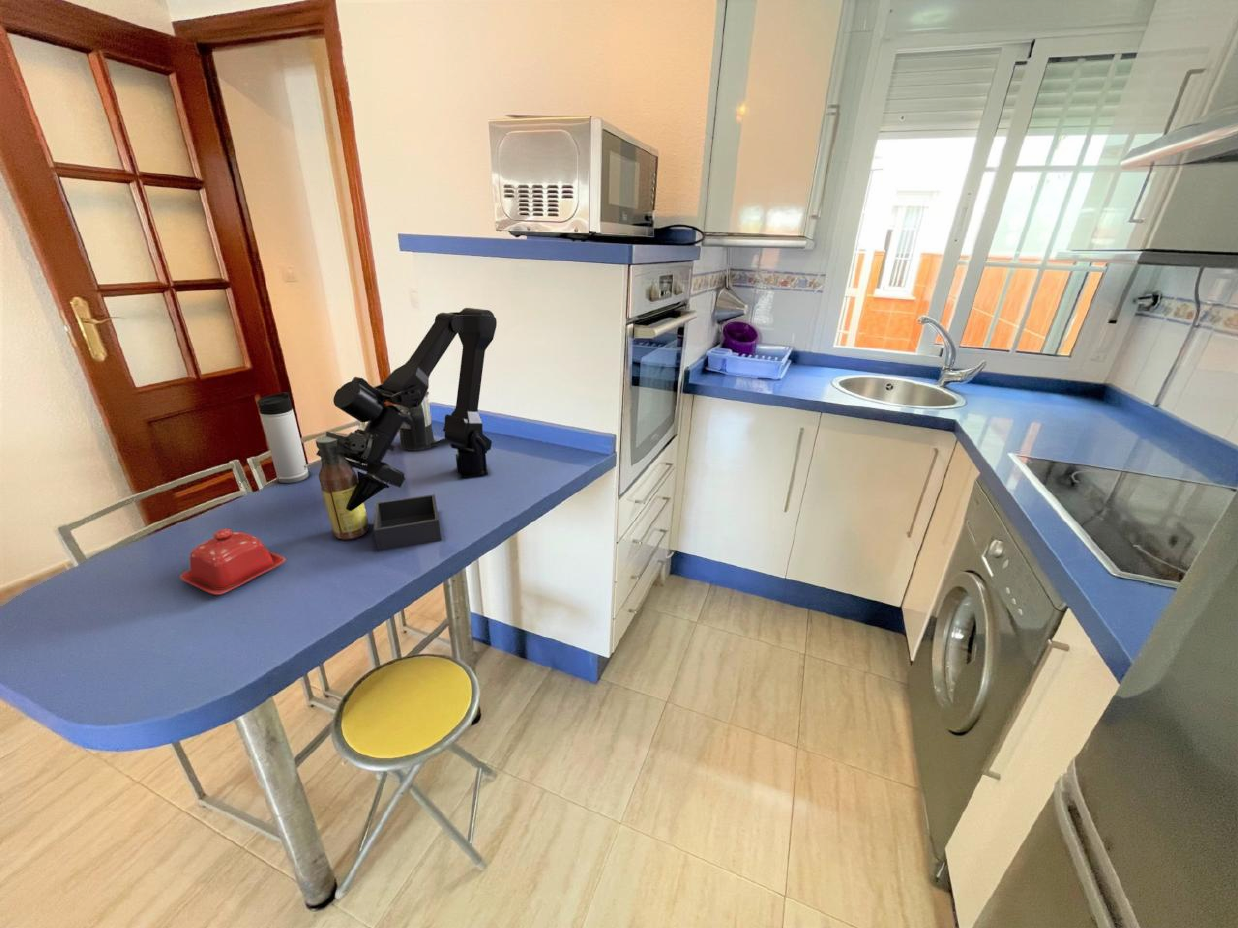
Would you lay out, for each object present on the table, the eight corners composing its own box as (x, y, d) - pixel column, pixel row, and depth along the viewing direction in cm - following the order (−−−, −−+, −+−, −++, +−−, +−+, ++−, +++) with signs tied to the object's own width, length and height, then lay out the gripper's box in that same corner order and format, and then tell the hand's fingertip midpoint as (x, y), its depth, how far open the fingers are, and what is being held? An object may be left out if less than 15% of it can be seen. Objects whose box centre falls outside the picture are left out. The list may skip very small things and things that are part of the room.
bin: (437, 512, 106) (434, 494, 104) (441, 540, 96) (438, 519, 95) (379, 521, 102) (375, 502, 100) (377, 551, 92) (373, 530, 90)
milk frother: (394, 444, 139) (385, 392, 133) (445, 431, 150) (440, 383, 144) (419, 459, 131) (411, 405, 125) (472, 444, 141) (467, 393, 135)
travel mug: (316, 475, 120) (297, 394, 112) (289, 485, 115) (267, 401, 107) (298, 469, 123) (279, 390, 115) (271, 480, 117) (249, 397, 109)
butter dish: (250, 548, 92) (237, 507, 88) (291, 565, 87) (279, 523, 84) (177, 582, 82) (160, 538, 79) (219, 604, 78) (202, 558, 74)
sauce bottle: (375, 525, 100) (358, 433, 92) (358, 542, 95) (337, 445, 87) (344, 523, 101) (324, 430, 93) (325, 539, 95) (301, 442, 87)
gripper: (315, 404, 95) (269, 477, 91) (381, 423, 88) (334, 504, 83) (359, 431, 105) (320, 498, 101) (422, 450, 97) (382, 524, 93)
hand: (337, 505), depth 94 cm, fingers closed on sauce bottle, 6 cm apart
